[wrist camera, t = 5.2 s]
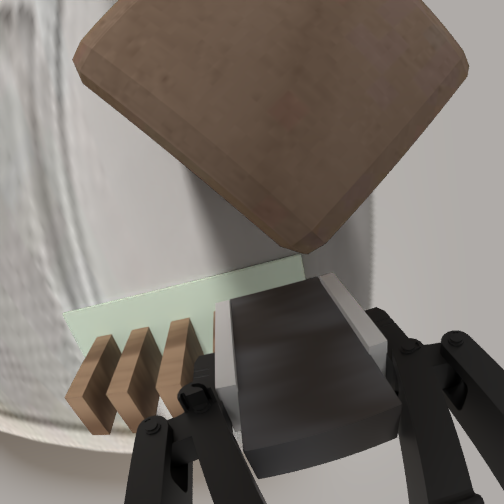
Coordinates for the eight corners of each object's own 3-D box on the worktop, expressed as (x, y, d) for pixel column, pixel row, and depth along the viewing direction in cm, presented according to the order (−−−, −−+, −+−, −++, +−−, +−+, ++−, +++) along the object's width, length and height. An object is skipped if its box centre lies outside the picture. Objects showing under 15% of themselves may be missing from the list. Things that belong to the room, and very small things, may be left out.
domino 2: (170, 321, 31) (155, 387, 21) (189, 317, 31) (180, 383, 21) (187, 359, 32) (179, 428, 23) (204, 355, 32) (202, 425, 23)
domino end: (96, 337, 31) (64, 397, 21) (111, 334, 31) (81, 396, 21) (115, 371, 32) (92, 434, 23) (130, 369, 32) (109, 434, 23)
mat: (63, 312, 30) (62, 314, 29) (299, 253, 30) (300, 254, 30) (109, 393, 34) (108, 395, 33) (317, 351, 34) (318, 353, 34)
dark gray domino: (238, 328, 18) (257, 479, 9) (229, 299, 17) (243, 451, 8) (322, 306, 18) (396, 437, 9) (317, 276, 17) (402, 403, 8)
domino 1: (131, 330, 31) (105, 394, 21) (148, 326, 31) (126, 391, 21) (149, 366, 32) (133, 433, 23) (165, 363, 32) (153, 431, 23)
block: (164, 118, 25) (49, 62, 6) (240, 38, 23) (278, -117, 4) (249, 189, 28) (311, 278, 9) (323, 110, 26) (486, 68, 7)
